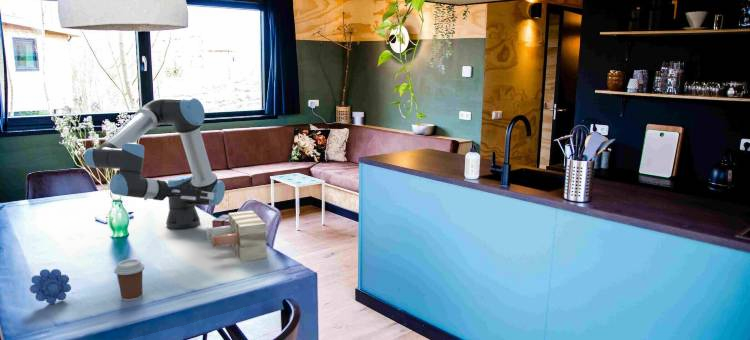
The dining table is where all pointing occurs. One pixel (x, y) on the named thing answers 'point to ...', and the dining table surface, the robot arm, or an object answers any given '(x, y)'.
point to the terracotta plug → (225, 239)
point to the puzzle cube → (221, 221)
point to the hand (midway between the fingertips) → (204, 196)
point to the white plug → (219, 231)
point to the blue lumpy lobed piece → (50, 286)
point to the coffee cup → (130, 279)
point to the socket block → (249, 235)
